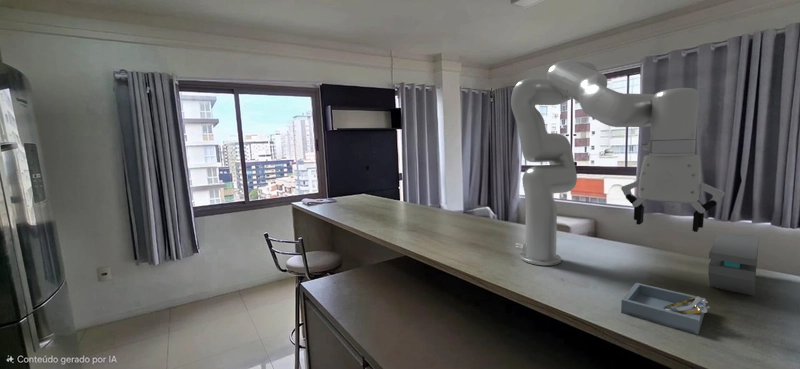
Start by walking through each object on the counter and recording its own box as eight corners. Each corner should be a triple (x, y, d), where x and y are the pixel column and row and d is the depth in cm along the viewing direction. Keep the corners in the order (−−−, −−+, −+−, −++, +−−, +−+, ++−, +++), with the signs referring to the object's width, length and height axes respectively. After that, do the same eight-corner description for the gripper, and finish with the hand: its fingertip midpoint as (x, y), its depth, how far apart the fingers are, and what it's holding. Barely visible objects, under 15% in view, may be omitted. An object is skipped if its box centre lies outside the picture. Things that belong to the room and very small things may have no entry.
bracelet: (660, 319, 71) (703, 315, 65) (653, 304, 72) (694, 299, 66) (675, 312, 74) (717, 308, 68) (667, 297, 76) (708, 292, 69)
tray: (621, 312, 74) (621, 299, 74) (635, 294, 83) (635, 282, 83) (698, 334, 65) (699, 320, 64) (705, 311, 73) (706, 298, 73)
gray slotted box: (752, 305, 76) (756, 259, 74) (706, 294, 81) (709, 252, 80) (755, 275, 92) (759, 237, 91) (717, 268, 98) (719, 232, 97)
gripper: (619, 149, 74) (615, 224, 76) (727, 148, 61) (719, 237, 63) (628, 148, 79) (624, 218, 81) (729, 147, 66) (722, 230, 68)
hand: (666, 226), depth 72 cm, fingers open, 9 cm apart
